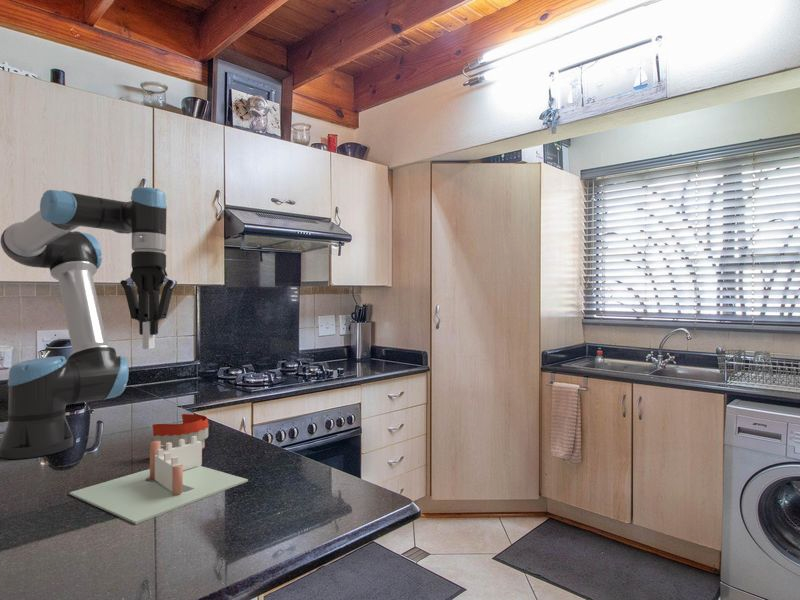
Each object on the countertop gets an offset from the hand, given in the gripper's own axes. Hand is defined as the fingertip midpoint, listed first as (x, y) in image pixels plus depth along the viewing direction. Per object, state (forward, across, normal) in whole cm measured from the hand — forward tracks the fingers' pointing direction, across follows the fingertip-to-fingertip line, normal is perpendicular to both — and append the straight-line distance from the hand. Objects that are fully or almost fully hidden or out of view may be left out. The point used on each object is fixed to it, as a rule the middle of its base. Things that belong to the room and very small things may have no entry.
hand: (148, 348), depth 115 cm
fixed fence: (+26, +13, -12) cm, 32 cm away
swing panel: (+26, +15, -21) cm, 36 cm away
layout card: (+26, +14, -20) cm, 36 cm away
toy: (+27, +7, +4) cm, 28 cm away
